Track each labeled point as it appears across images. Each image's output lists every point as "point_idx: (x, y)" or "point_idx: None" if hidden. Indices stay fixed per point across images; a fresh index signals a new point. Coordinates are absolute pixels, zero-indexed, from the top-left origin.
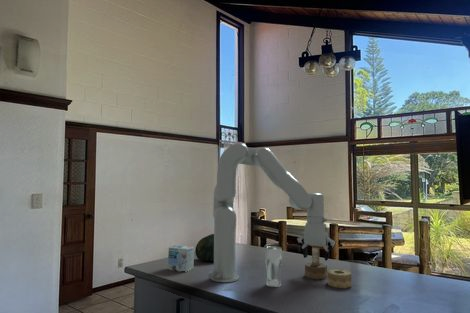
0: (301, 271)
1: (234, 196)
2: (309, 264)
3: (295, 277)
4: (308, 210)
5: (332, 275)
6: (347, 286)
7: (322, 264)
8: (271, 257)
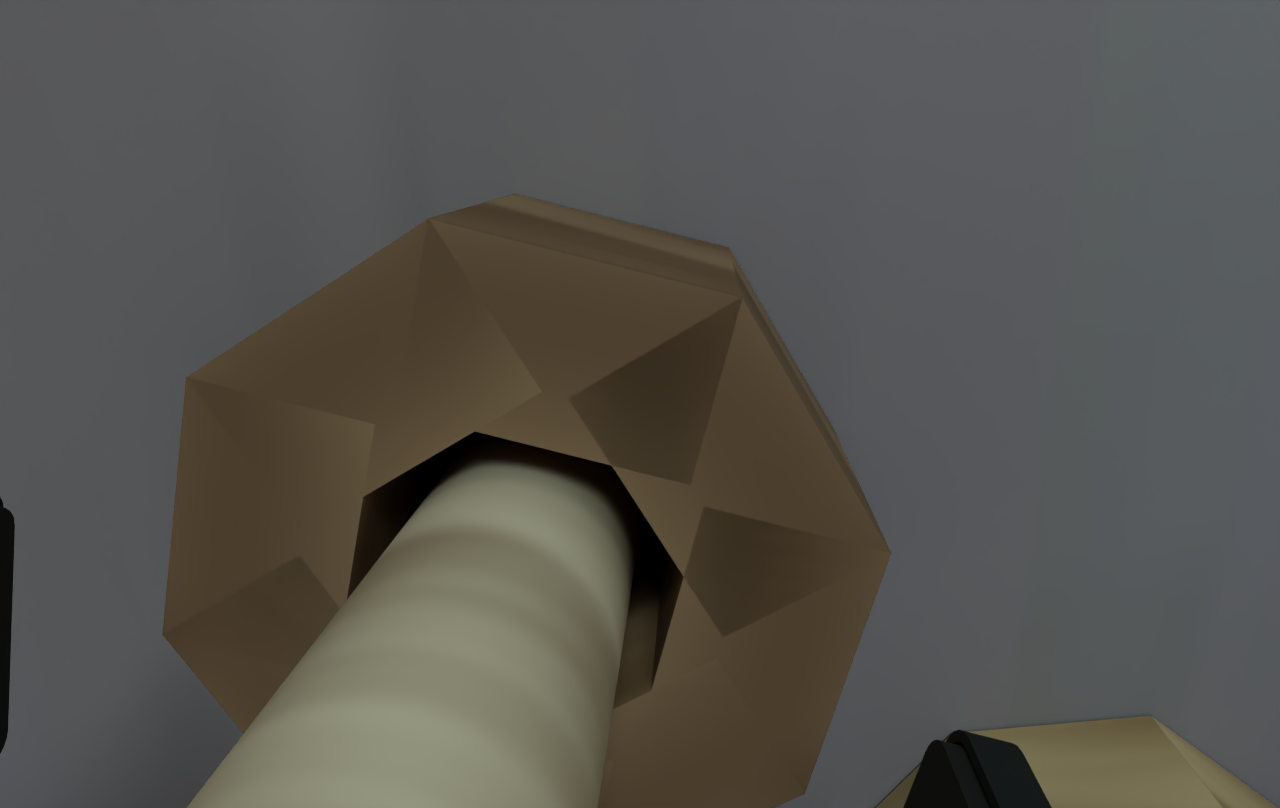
0: (140, 99)
1: None
2: (298, 593)
3: (156, 669)
4: None
5: None
6: None
7: (730, 475)
8: None
